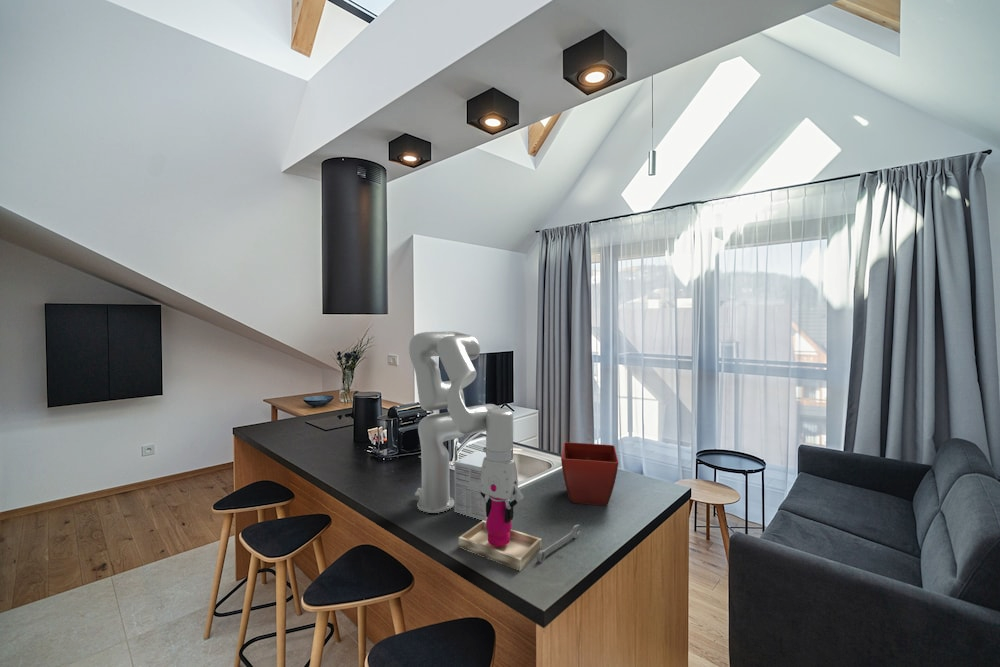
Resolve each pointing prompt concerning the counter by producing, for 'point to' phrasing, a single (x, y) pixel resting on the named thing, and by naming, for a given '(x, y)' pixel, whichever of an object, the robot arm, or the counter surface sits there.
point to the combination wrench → (558, 543)
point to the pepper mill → (498, 522)
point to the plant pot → (589, 472)
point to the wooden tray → (510, 554)
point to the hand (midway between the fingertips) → (499, 517)
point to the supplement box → (469, 486)
